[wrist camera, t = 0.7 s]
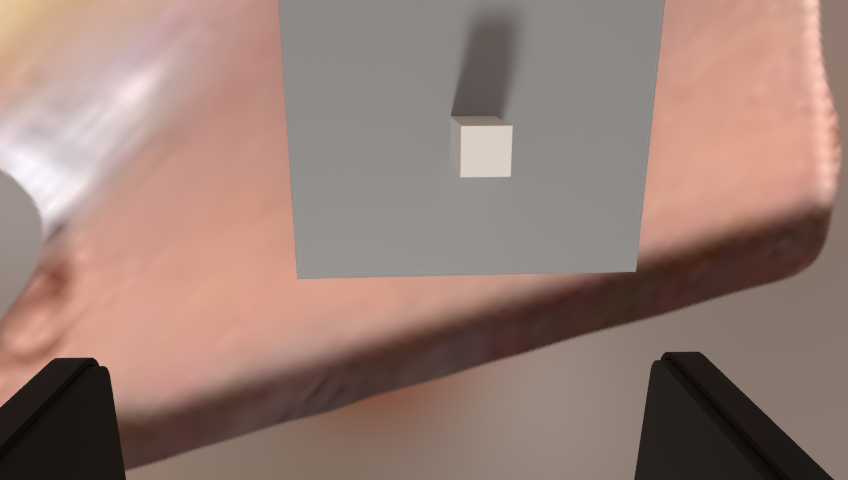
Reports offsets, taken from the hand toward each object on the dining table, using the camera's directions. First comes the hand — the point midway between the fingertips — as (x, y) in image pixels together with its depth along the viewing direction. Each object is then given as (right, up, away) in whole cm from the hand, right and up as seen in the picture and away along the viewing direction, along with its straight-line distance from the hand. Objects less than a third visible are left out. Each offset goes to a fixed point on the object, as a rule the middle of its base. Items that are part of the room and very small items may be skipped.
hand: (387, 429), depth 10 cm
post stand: (+3, +9, +24) cm, 26 cm away
